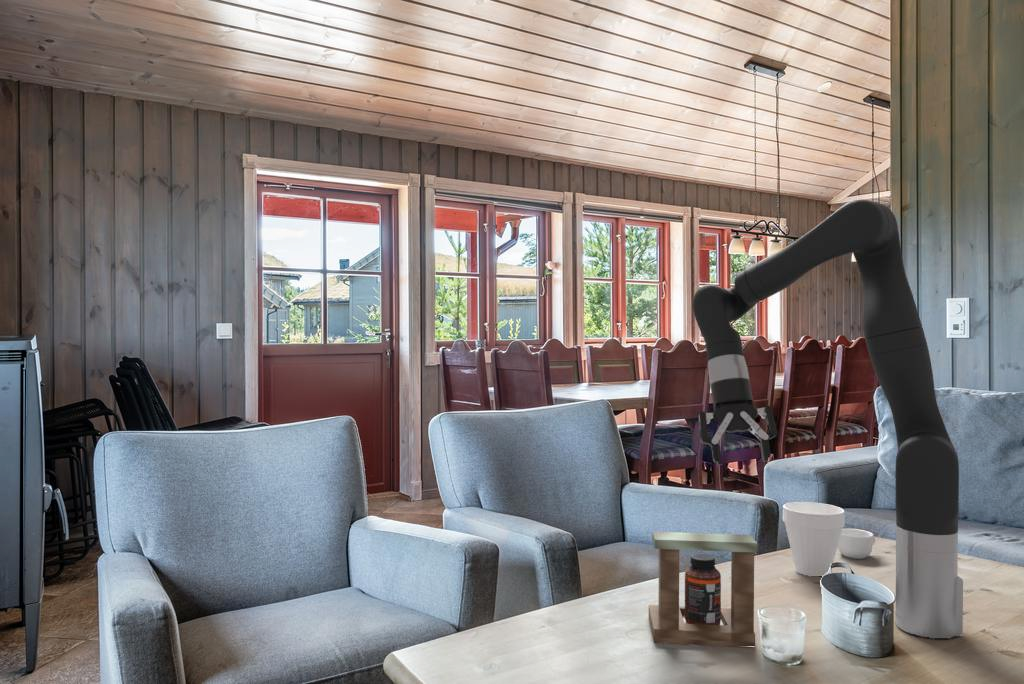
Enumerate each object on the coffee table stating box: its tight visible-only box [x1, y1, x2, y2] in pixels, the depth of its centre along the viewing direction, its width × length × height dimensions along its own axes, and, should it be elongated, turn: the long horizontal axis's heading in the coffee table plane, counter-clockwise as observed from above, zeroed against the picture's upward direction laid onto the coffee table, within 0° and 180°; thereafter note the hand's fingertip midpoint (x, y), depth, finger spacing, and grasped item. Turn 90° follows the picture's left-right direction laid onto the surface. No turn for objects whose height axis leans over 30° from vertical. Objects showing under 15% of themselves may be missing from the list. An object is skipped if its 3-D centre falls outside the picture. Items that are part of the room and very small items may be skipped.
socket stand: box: [648, 531, 758, 648], centre depth 124 cm, size 16×12×17 cm
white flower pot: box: [782, 501, 846, 577], centre depth 157 cm, size 12×12×14 cm
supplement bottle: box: [684, 553, 722, 625], centre depth 125 cm, size 6×6×11 cm
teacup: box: [837, 528, 876, 560], centre depth 169 cm, size 10×8×5 cm
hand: (742, 462), depth 141 cm, fingers open, 8 cm apart
